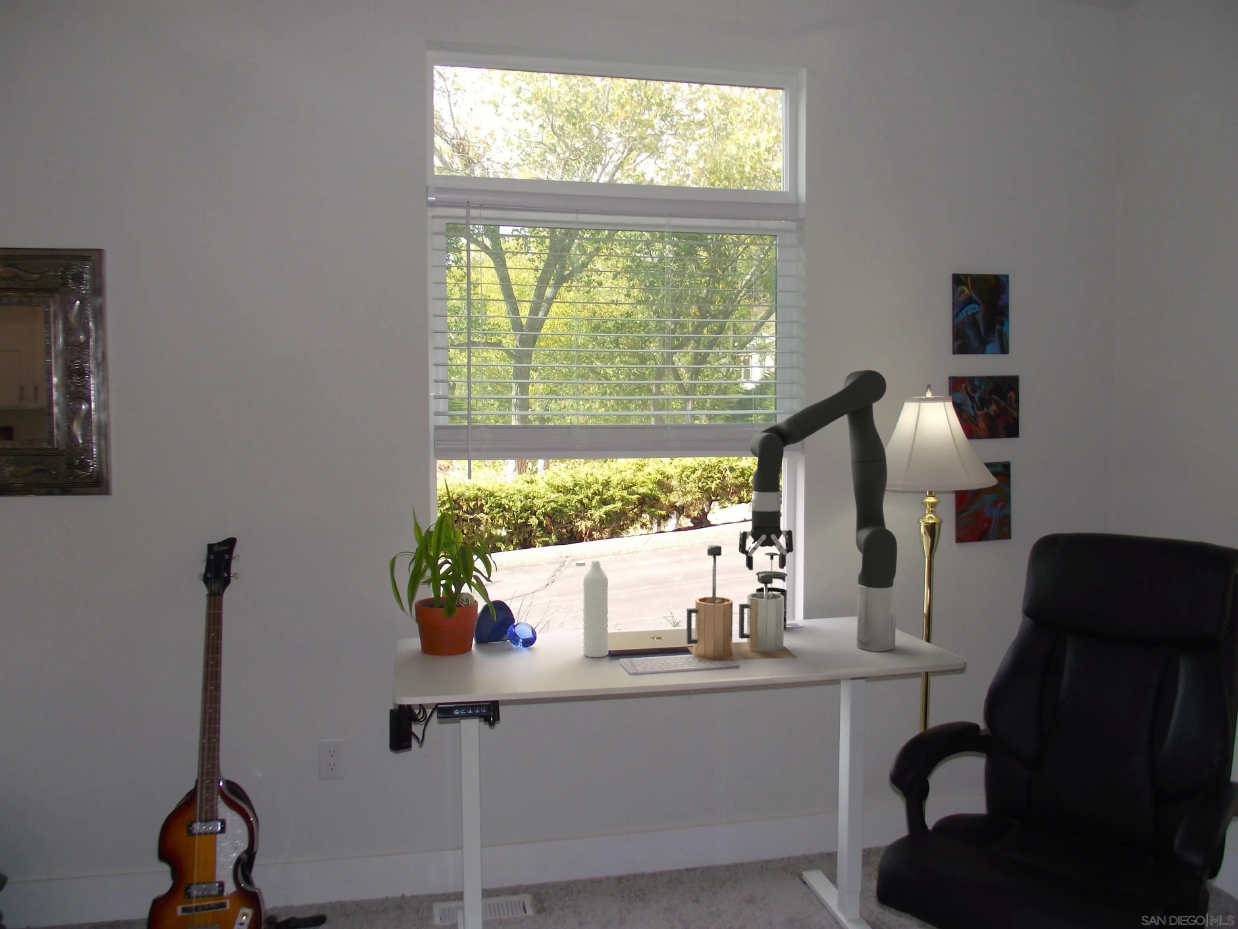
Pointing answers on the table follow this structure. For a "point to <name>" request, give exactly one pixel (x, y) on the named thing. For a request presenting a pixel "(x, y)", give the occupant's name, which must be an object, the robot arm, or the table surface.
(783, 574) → the french press
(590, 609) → the water bottle
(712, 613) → the copper carafe
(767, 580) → the steel plunger
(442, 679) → the table surface
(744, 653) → the board
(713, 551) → the black knob plunger
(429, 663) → the table surface
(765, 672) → the table surface
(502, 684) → the table surface
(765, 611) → the steel carafe
